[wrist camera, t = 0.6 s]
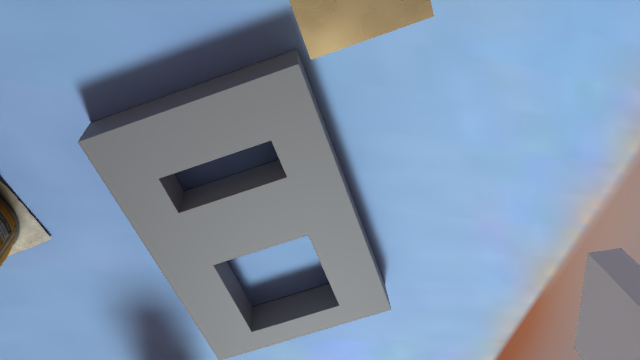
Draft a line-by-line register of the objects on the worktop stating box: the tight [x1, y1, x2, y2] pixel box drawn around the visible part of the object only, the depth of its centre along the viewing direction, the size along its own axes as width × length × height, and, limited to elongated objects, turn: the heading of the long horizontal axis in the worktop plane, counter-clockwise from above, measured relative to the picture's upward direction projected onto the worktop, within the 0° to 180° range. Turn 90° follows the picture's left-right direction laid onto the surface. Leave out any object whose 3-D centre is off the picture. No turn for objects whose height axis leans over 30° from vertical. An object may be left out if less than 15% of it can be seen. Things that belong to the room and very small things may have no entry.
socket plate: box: [78, 49, 391, 360], centre depth 36 cm, size 13×19×2 cm
